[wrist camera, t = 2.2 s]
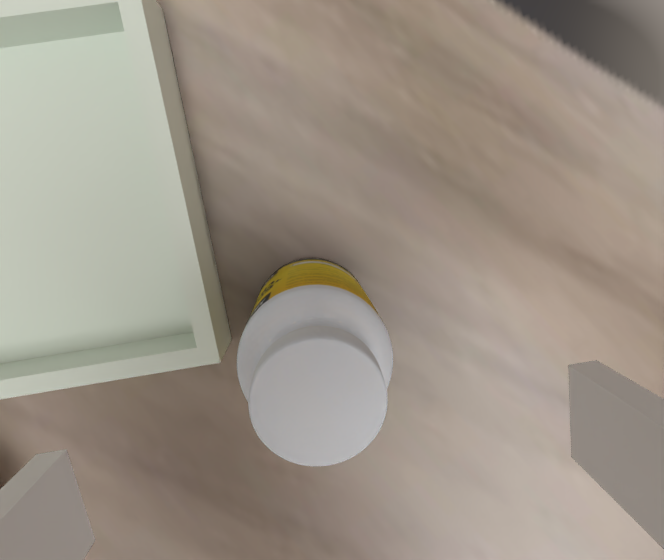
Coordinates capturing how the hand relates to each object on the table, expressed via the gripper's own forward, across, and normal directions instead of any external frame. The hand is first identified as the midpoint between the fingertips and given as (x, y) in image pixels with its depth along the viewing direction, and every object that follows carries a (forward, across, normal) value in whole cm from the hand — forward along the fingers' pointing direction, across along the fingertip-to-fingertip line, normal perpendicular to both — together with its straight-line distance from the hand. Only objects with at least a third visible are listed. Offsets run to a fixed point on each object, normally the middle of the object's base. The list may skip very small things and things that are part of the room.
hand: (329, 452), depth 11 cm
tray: (+14, -14, +8) cm, 22 cm away
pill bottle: (+15, 0, 0) cm, 15 cm away
